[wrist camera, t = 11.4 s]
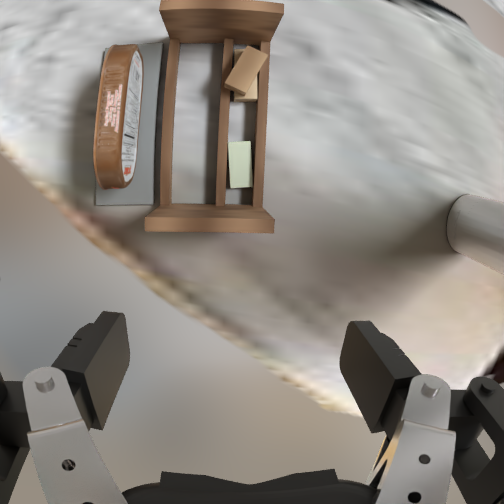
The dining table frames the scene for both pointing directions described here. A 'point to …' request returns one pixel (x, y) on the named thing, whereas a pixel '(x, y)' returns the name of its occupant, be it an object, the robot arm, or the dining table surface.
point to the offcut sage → (240, 164)
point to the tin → (118, 116)
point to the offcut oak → (245, 70)
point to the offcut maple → (252, 91)
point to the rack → (227, 32)
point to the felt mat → (141, 137)
